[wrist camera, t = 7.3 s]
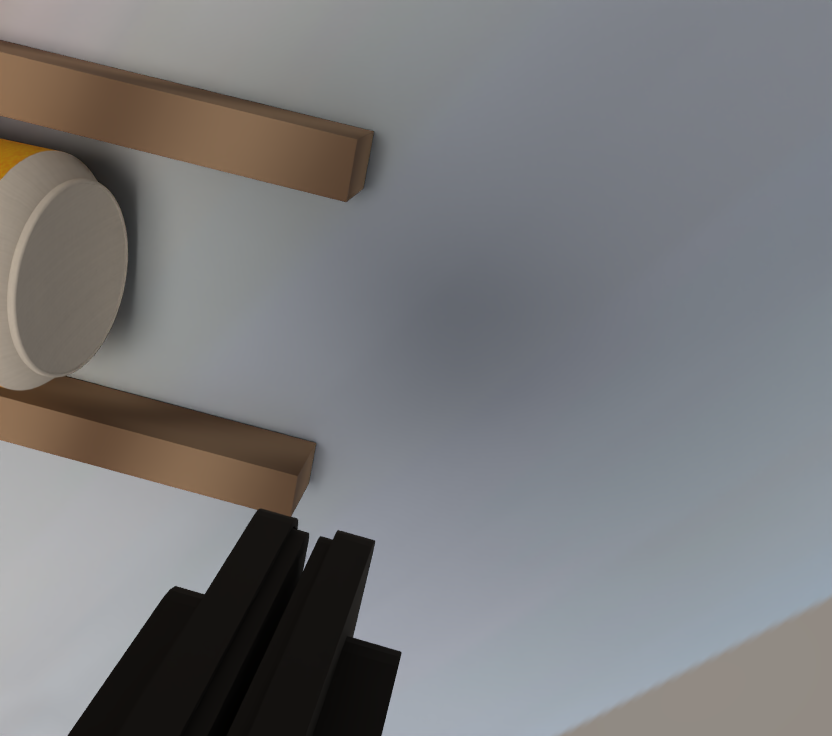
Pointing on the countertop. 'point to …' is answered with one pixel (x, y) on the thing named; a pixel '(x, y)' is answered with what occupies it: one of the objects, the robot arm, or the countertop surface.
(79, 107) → the u rest
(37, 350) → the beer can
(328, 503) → the countertop surface
